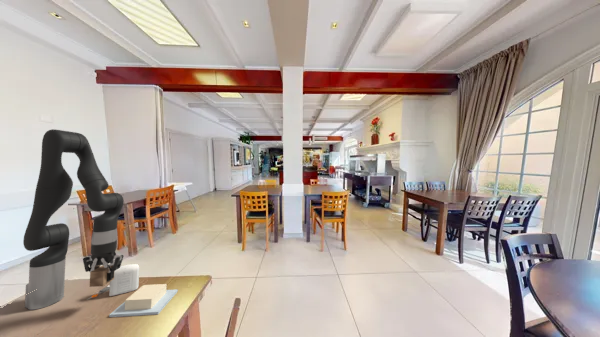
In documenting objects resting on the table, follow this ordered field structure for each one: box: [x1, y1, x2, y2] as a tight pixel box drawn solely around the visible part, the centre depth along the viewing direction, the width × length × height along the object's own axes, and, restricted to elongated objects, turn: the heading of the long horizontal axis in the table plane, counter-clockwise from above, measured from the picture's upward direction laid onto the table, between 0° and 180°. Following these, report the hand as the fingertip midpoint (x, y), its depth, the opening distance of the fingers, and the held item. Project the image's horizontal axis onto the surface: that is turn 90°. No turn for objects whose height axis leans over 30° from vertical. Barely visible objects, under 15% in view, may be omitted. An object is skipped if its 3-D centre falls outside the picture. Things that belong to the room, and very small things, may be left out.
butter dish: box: [108, 283, 179, 318], centre depth 79 cm, size 18×14×5 cm
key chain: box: [87, 284, 110, 300], centre depth 85 cm, size 13×4×2 cm, turn 174°
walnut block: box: [89, 265, 115, 288], centre depth 77 cm, size 5×5×6 cm
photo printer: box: [108, 263, 140, 297], centre depth 87 cm, size 10×4×12 cm, turn 123°
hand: (102, 280), depth 77 cm, fingers closed on walnut block, 5 cm apart
